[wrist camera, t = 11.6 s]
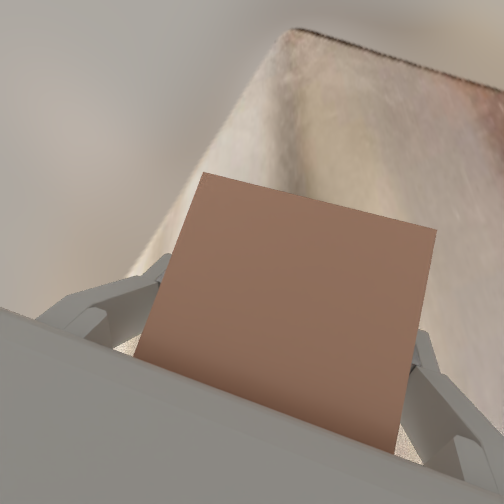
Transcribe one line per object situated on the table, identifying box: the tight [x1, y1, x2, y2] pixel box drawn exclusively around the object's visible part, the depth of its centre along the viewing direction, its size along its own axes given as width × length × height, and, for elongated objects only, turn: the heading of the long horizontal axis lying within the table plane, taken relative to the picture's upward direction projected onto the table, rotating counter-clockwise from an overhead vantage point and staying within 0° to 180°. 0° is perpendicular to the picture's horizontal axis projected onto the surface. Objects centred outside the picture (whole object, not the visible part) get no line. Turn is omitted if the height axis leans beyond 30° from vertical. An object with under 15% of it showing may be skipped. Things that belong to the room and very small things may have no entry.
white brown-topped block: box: [133, 172, 437, 455], centre depth 11 cm, size 6×6×8 cm
